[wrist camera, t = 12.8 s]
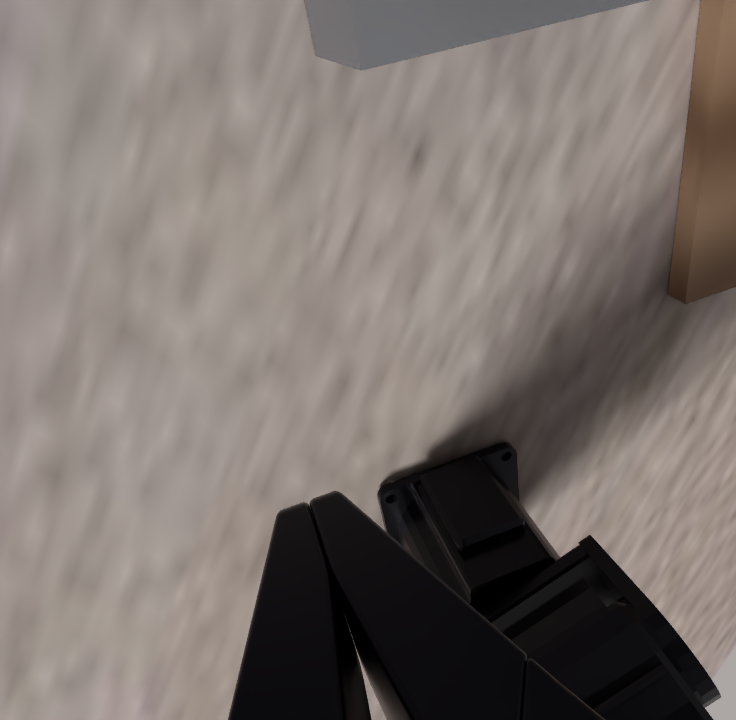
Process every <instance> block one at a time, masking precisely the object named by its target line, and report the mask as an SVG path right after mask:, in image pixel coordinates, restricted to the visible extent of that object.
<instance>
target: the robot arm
mask: <svg viewBox="0 0 736 720" xmlns="http://www.w3.org/2000/svg"><path fill="white" fill-rule="evenodd" d="M504 453H505V454H504ZM503 454H504V455H503ZM389 495H391V496H390V497H387V496H389ZM377 497H378V501H379V505H380V509H381V514H382V518H383V522H384V526H385V530H386V531H384V530H383V529H382V528H381V527H380V526H379V525H378V524H376V523H375V522H374V521H373V520H372V519H371V518H370V517H368V516H367V515H366V514H365V513H364V512H363V511H361V510H360V509H359V508H358V507H357V506H356V505H355V504H353V503H352V502H351V501H350V500H349V499H348V498H347V497H345V496H344V495H343V494H342V493H340V492H338V491H333V492H331V493H328V494H325V495H322V496H319V497H317V498H314V499H312V500H311V501H310V506H309V505H308V504H307V503H305V502H303V503H300V504H297V505H294V506H292V507H289V508H286V509H283V510H281V511H280V512H279V513H278V514H277V516H276V520H275V524H274V528H273V532H272V537H271V541H270V545H269V549H268V553H267V558H266V562H265V566H264V570H263V574H262V579H261V583H260V587H259V591H258V596H257V600H256V604H255V608H254V612H253V617H252V621H251V625H250V629H249V633H248V638H247V642H246V646H245V650H244V654H243V659H242V663H241V667H240V671H239V675H238V680H237V684H236V688H235V692H234V696H233V701H232V705H231V709H230V713H229V717H228V720H371V715H370V710H369V704H368V699H367V694H366V689H365V684H364V679H363V675H362V670H361V666H360V662H359V658H358V655H359V657H360V660H361V663H362V665H363V668H364V670H365V672H366V675H367V677H368V679H369V682H370V684H371V686H372V688H373V690H374V693H375V695H376V697H377V699H378V701H379V703H380V705H381V708H382V710H383V712H384V714H385V716H386V718H387V720H713V719H712V717H711V716H710V715H709V713H708V712H707V711H706V709H705V707H707V706H708V705H710V704H711V703H713V702H714V701H716V700H717V699H719V698H720V697H721V695H720V693H719V691H718V690H717V687H716V686H715V684H714V683H713V681H712V680H711V678H710V677H709V675H708V674H707V672H706V671H705V669H704V668H703V667H702V665H701V664H700V662H699V661H698V660H697V658H696V657H695V656H694V654H693V653H692V651H691V650H690V649H689V648H688V646H687V645H686V644H685V642H684V641H683V640H682V638H681V637H680V636H679V635H678V633H677V632H676V631H675V630H674V628H673V627H672V626H671V625H670V623H669V622H668V621H667V620H666V619H665V617H664V616H663V615H662V614H661V613H660V611H659V610H658V609H657V608H656V607H655V606H654V604H653V603H652V602H651V601H650V600H649V599H648V598H647V597H646V596H645V594H644V593H643V592H642V591H641V590H640V589H639V588H638V587H637V586H636V585H635V583H634V582H633V581H632V580H631V579H630V578H629V577H628V576H627V575H626V574H625V573H624V571H623V570H622V569H621V568H620V567H619V566H618V565H617V564H616V563H615V562H614V560H613V559H612V558H611V557H610V556H609V555H608V554H607V553H606V552H605V551H604V549H603V548H602V547H601V546H600V545H599V544H598V543H597V542H596V541H595V540H594V538H593V537H592V536H591V535H589V536H587V537H586V538H584V539H583V540H581V541H580V542H578V543H579V545H578V546H577V547H575V548H574V549H572V550H571V551H569V552H568V553H567V554H565V555H564V556H562V557H561V558H560V557H559V555H558V554H557V552H556V551H555V550H554V548H553V547H552V546H551V544H550V543H549V542H548V540H547V539H546V538H545V536H544V535H543V534H542V532H541V531H540V529H539V528H538V527H537V525H536V524H535V523H534V521H533V520H532V519H531V517H530V516H529V515H528V513H527V512H526V510H525V509H524V508H523V506H522V505H521V504H520V502H519V489H518V470H517V453H516V450H515V449H514V448H513V446H512V445H511V444H510V443H507V442H504V443H500V444H497V445H495V446H492V447H489V448H486V449H483V450H481V451H478V452H475V453H472V454H470V455H467V456H464V457H461V458H459V459H456V460H453V461H450V462H448V463H445V464H442V465H439V466H437V467H434V468H431V469H428V470H425V471H423V472H420V473H417V474H414V475H412V476H409V477H406V478H403V479H401V480H398V481H395V482H392V483H390V484H387V485H385V486H383V487H382V488H381V489H380V490H379V491H378V494H377ZM310 508H311V509H310ZM311 511H312V512H311ZM345 616H346V617H345ZM346 619H347V620H346ZM347 622H348V623H347ZM348 625H349V626H348ZM349 628H350V629H349ZM350 631H351V632H350ZM351 634H352V635H351ZM352 637H353V638H352ZM353 640H354V641H353ZM354 643H355V645H354ZM355 646H356V648H355ZM356 649H357V651H356ZM357 652H358V655H357Z"/></svg>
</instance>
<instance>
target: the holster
mask: <svg viewBox="0 0 736 720" xmlns="http://www.w3.org/2000/svg"><path fill="white" fill-rule="evenodd" d="M733 287H736V0H701V2H700V11H699V20H698V29H697V38H696V47H695V56H694V65H693V74H692V83H691V92H690V101H689V110H688V119H687V128H686V137H685V146H684V155H683V164H682V173H681V182H680V191H679V200H678V209H677V218H676V227H675V236H674V245H673V254H672V263H671V272H670V281H669V290H668V295H670V296H672V297H674V298H675V299H677V300H679V301H681V302H683V303H684V304H686V303H689V302H692V301H695V300H698V299H701V298H704V297H707V296H710V295H713V294H716V293H719V292H722V291H725V290H727V289H730V288H733Z"/></svg>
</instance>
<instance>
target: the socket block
mask: <svg viewBox="0 0 736 720" xmlns="http://www.w3.org/2000/svg"><path fill="white" fill-rule="evenodd" d="M304 1H305V6H306V11H307V16H308V21H309V25H310V30H311V35H312V40H313V45H314V50H315V55H316V56H318V57H321V58H324V59H327V60H330V61H333V62H336V63H339V64H342V65H345V66H348V67H352V68H355V69H358V70H365V69H370V68H374V67H378V66H382V65H386V64H390V63H394V62H398V61H402V60H406V59H410V58H414V57H419V56H423V55H427V54H431V53H435V52H439V51H443V50H447V49H451V48H455V47H459V46H463V45H468V44H472V43H476V42H480V41H484V40H488V39H492V38H496V37H500V36H504V35H508V34H512V33H517V32H521V31H525V30H529V29H533V28H537V27H541V26H545V25H549V24H553V23H557V22H561V21H566V20H570V19H574V18H578V17H582V16H586V15H590V14H594V13H598V12H602V11H606V10H610V9H615V8H619V7H623V6H627V5H631V4H635V3H639V2H643V1H647V0H304Z"/></svg>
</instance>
